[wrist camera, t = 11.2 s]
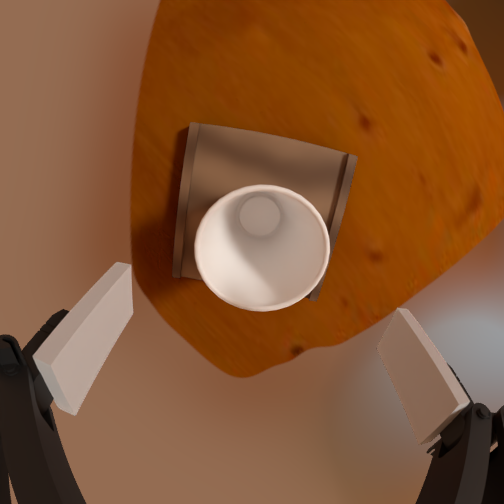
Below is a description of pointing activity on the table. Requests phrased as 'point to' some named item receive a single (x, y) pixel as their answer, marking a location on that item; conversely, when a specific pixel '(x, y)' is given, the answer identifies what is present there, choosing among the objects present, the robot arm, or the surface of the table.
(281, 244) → the cup
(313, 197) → the board
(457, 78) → the table surface
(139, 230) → the table surface
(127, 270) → the robot arm
